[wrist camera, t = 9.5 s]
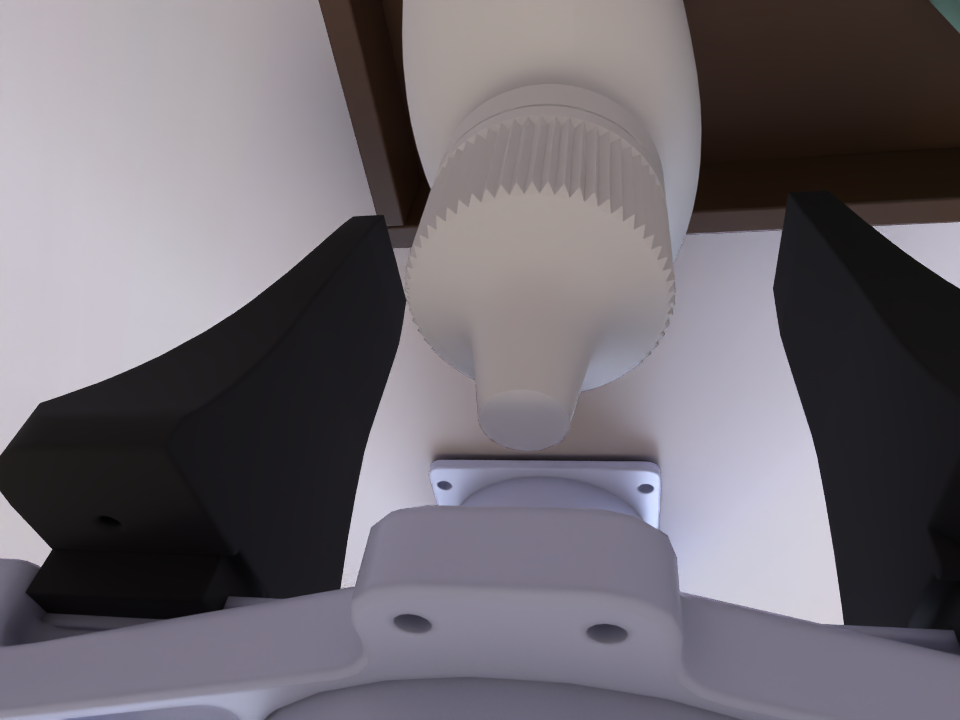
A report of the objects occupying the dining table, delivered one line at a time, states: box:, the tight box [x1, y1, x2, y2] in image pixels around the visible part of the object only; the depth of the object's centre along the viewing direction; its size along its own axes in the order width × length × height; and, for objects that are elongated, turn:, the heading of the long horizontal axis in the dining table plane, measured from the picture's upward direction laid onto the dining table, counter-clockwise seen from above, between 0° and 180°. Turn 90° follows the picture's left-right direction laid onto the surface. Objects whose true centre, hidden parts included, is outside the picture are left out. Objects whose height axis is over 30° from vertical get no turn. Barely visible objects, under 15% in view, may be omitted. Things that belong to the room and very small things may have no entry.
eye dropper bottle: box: [402, 0, 701, 451], centre depth 10 cm, size 4×6×12 cm
